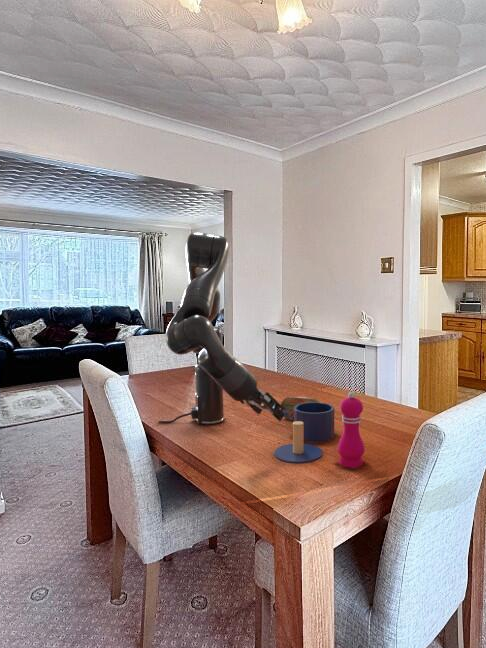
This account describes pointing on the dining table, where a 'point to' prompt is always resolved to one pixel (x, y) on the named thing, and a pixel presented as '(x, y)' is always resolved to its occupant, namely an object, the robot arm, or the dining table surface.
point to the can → (316, 420)
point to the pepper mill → (351, 433)
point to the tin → (289, 404)
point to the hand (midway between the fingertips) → (271, 414)
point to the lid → (298, 448)
